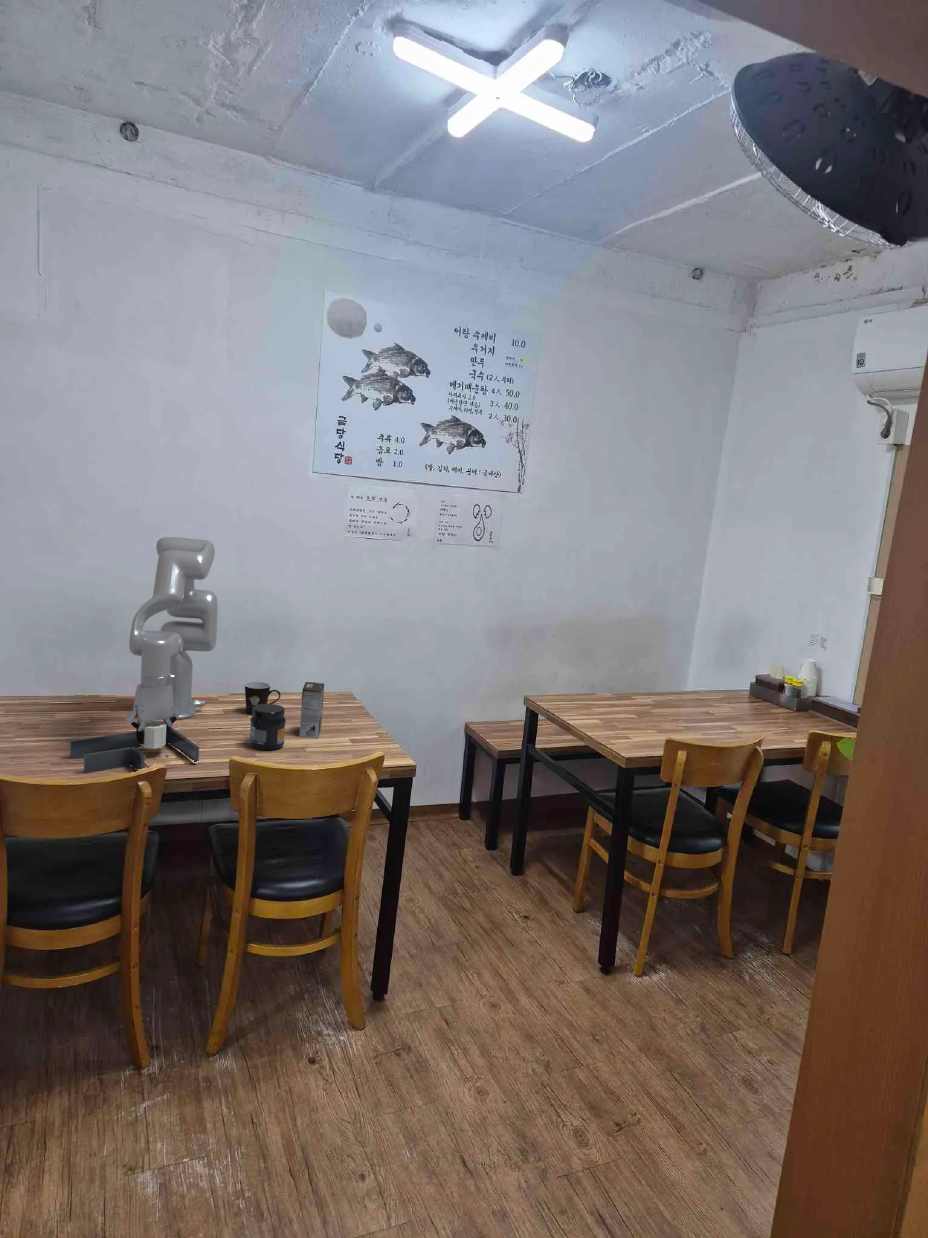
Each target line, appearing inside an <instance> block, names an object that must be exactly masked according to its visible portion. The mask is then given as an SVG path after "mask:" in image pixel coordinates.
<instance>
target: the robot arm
mask: <svg viewBox="0 0 928 1238" xmlns="http://www.w3.org/2000/svg"><path fill="white" fill-rule="evenodd" d="M155 549H156V553H157V555H158V559H157V565H156V570H155V571H156V572H155V577H154V585H153V592H152V597H151V598H149V600H147V601H146V602H145V603H143V605H141V606H140V608H139V609H138V610H137V612H136V613H135V615H134V617H133V619H132V622H131V628H130V632H129V640H128V642H129V643H128V645H129V647H128V648H129V652H130V653H131V654H133V655H134V656H136V657H141V658H140V659H141V662H140V663H141V664H140V667H141V668H140V684H137V686H136V689H135V695H134V700H133V707H132V708H133V709H132V710H131V711H130V712H129V713H128V714H127V715H126V716H125V718H124V720H125V722H128V724H130V725H131V726H132V727H133V728H134V729H135V730H136V740H137V741H138V742H139V743H140V744H141V745H142V744H144V731H143V727H144V725H145V723H146V722H147V721H162V722H164V723H166V741H168V740H169V736H170V727H173V724H174V723H175V722H176V721H177V720H182V719H189V718H192V717H194V716H195V715H196V708H198V707H200V708H201V707H202V708H203V707H205V706H206V702H205V700H198V699H194V700H193V699H192V690H193V689H192V687H193V669H194V668H193V667H194V666H193V665H194V664H193V660H192V658H191V657H190V655H189V654H188V653H187V652H188V651H191V652H211V651H212V650H213V649H215V647H216V644H217V633H218V632H217V631H218V611H219V608H218V598H217V595H216V594H215V593H214V592H213V591H211V590H207V589H196V588H195V581H196V580H197V581H198V580H199V581H201V580H202V581H203V580H205V579H206V578H207V577H208V575H209V573H210V569H211V568H212V565H213V563H214V560H215V556H216V555H215V554H216V553H215V551H216V550H215V546H214V544H213V543H212V541H210V540H207V539H198V538H188V537H178V536H174V537H173V536H168V537H167V536H165V537H161V538H159V539H158V540H157V541H156V548H155ZM164 611H166V612H167V614H168V615H169V616H171V617H174V618H182V619H183V618H185V619H196V620H198V619H199V620H201V621H202V622H200V621H187V620H185V621H184V620H169V621H167V622H165V623H163V625H162V626H161V628H160V630H148V629H146V630H145V629H144V626H145V623H146V622H147V620H148V619H150V618H151V617H153V616H154V615H157V614H159V613H161V612H164ZM143 629H144V630H143ZM134 718H137V721H134Z"/></svg>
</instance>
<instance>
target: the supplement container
mask: <svg viewBox="0 0 928 1238" xmlns="http://www.w3.org/2000/svg"><path fill="white" fill-rule="evenodd" d="M285 711H286V710H285V707H284V706H282V705H280V704H276V703H275V704H274V703H273V704H269V703H267V704H260V705H256V706H254V707H253V713H252V714H253V715H251V717H250V725H249V726H250V727H249V728H250V729H249V740H248V742H249V746H251V747H252V748H253V749H255V750H258V749H259V751H275V750H279V749H280V748H282V747H283V746H284V745H285V732H286V731H285V730H286V721H287V719H286V717H285Z"/></svg>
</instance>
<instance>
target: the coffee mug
mask: <svg viewBox="0 0 928 1238" xmlns="http://www.w3.org/2000/svg"><path fill="white" fill-rule="evenodd" d="M270 689H271V684H270V683H268V682H263V681H250V682H249V681H248V682H246V683H244V695H245V697H244V698H245V709H246V710H245V711H246V715H249V716H253V714H252V713H253V707H254V706H256V705H260V704H274V703H275V704H276V703H277V701H279V700H280V698H281V692H280V691H279V690H278V689H272V690H270ZM273 692H274V693H277V694H278V698H276V699H275V700H274V701H271V702H270V703H268V700H269V696H270V695H271V693H273Z"/></svg>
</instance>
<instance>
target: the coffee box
mask: <svg viewBox="0 0 928 1238" xmlns="http://www.w3.org/2000/svg"><path fill="white" fill-rule="evenodd" d="M324 692H325V683H324V682H322V683H320V682H312V681H305V682H304V685H303V688H302V692H301V693H302V696H301V709H300V720H299V721H300V722H299V737H300V738H311V739H313V738H314V739H319V738H320V735H321V731H322V724H323V708H324V695H325V693H324Z"/></svg>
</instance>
